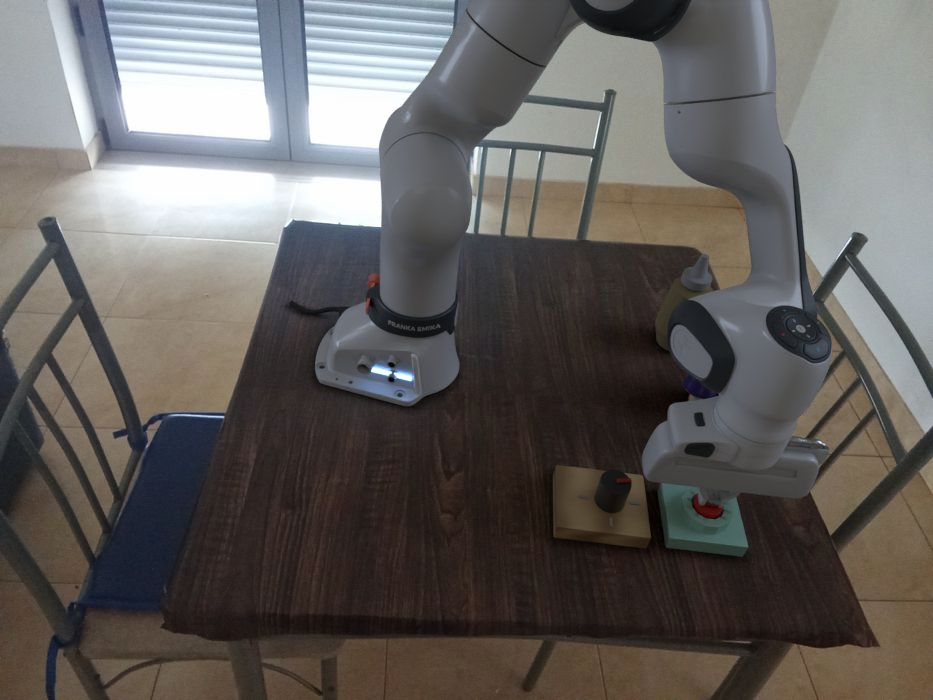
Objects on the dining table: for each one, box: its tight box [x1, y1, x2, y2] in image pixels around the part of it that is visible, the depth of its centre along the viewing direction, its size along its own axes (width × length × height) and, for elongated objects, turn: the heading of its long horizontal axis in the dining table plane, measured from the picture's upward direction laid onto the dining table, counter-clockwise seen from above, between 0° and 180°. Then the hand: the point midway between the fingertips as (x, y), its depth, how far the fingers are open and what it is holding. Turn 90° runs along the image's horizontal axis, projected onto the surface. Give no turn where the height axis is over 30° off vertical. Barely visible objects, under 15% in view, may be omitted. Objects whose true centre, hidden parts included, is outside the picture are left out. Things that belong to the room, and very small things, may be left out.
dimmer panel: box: [552, 464, 652, 549], centre depth 94 cm, size 12×10×3 cm
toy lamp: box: [683, 373, 717, 401], centre depth 99 cm, size 5×5×17 cm
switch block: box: [657, 483, 749, 558], centre depth 94 cm, size 10×9×4 cm
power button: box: [692, 493, 723, 519], centre depth 92 cm, size 4×4×2 cm
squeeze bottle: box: [654, 253, 714, 352], centre depth 116 cm, size 8×8×18 cm
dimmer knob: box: [594, 469, 632, 513], centre depth 92 cm, size 4×4×4 cm
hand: (709, 502), depth 92 cm, fingers closed, pressing on power button
